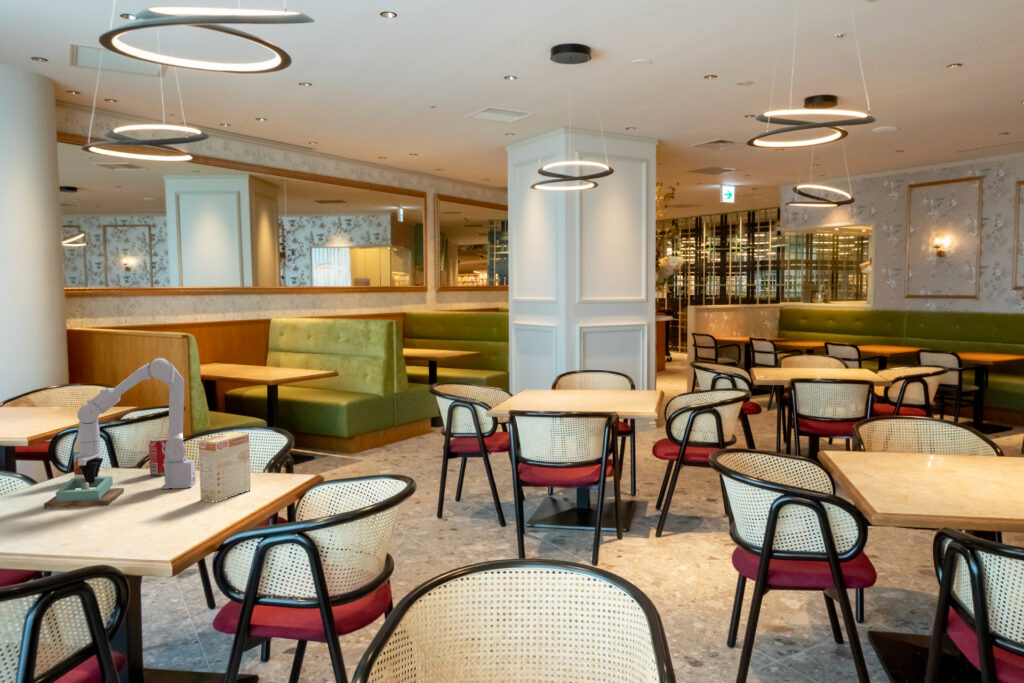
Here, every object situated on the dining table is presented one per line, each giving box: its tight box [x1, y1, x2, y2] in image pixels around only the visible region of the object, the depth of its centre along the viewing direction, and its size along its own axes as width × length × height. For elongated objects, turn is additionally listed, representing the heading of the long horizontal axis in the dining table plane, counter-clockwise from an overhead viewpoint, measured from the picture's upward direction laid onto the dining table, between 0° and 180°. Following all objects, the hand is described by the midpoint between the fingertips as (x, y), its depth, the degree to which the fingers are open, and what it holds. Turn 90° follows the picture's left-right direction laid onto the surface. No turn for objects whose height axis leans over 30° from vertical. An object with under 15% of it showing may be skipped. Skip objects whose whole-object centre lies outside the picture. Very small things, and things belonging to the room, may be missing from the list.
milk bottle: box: [73, 423, 101, 478], centre depth 247 cm, size 8×8×20 cm
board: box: [43, 482, 125, 509], centre depth 223 cm, size 18×14×6 cm
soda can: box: [148, 436, 168, 476], centre depth 255 cm, size 7×7×13 cm
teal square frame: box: [55, 475, 114, 502], centre depth 224 cm, size 12×12×3 cm
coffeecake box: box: [198, 431, 252, 503], centre depth 228 cm, size 15×7×20 cm, turn 155°
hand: (91, 482), depth 229 cm, fingers closed on teal square frame, 2 cm apart
